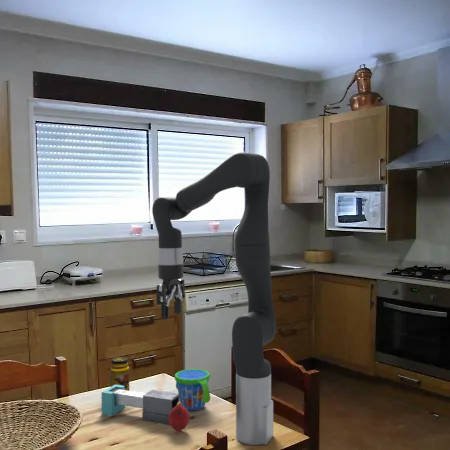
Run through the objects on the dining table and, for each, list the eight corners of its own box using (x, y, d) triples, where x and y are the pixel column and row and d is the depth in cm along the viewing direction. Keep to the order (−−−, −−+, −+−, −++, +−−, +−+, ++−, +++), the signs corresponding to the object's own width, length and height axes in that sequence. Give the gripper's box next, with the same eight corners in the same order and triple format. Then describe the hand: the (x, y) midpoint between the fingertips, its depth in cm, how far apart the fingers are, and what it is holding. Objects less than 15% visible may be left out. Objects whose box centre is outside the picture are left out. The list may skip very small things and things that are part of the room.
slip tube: (156, 405, 148) (156, 394, 148) (150, 410, 145) (150, 398, 145) (115, 399, 153) (115, 388, 153) (109, 403, 150) (109, 392, 150)
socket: (125, 407, 154) (124, 385, 154) (111, 416, 148) (111, 393, 148) (115, 405, 156) (115, 384, 155) (101, 414, 149) (101, 392, 149)
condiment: (126, 400, 160) (125, 362, 160) (100, 398, 162) (100, 361, 161) (133, 391, 168) (133, 356, 167) (109, 390, 169) (109, 354, 168)
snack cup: (166, 401, 159) (166, 369, 158) (196, 395, 164) (195, 364, 164) (188, 419, 145) (188, 384, 145) (220, 412, 151) (220, 378, 150)
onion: (186, 437, 134) (186, 407, 134) (165, 435, 135) (165, 405, 135) (192, 427, 140) (192, 399, 139) (172, 426, 141) (172, 397, 141)
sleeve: (180, 417, 147) (179, 393, 147) (170, 425, 141) (170, 400, 141) (152, 412, 150) (152, 389, 150) (142, 420, 145) (142, 396, 144)
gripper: (171, 265, 145) (172, 321, 145) (191, 260, 158) (192, 312, 159) (148, 264, 148) (149, 320, 148) (170, 260, 161) (171, 311, 161)
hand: (171, 315), depth 153 cm, fingers open, 8 cm apart
